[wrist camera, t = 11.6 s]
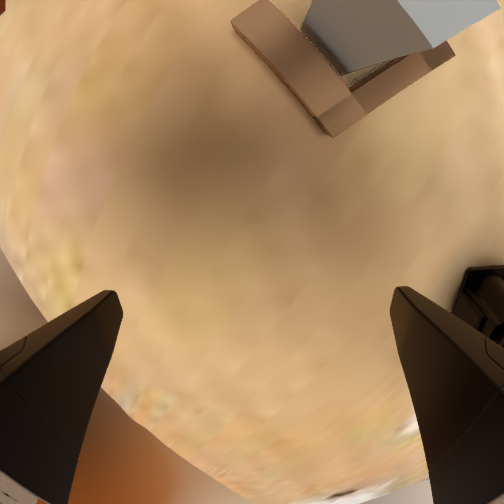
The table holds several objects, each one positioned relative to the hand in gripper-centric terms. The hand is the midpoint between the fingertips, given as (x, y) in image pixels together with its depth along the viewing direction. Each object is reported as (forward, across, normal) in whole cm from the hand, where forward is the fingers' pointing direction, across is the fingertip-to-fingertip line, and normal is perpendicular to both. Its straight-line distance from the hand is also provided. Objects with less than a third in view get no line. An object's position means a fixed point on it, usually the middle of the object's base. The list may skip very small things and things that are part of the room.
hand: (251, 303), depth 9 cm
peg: (+12, -6, -10) cm, 17 cm away
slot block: (+12, -6, -10) cm, 17 cm away
